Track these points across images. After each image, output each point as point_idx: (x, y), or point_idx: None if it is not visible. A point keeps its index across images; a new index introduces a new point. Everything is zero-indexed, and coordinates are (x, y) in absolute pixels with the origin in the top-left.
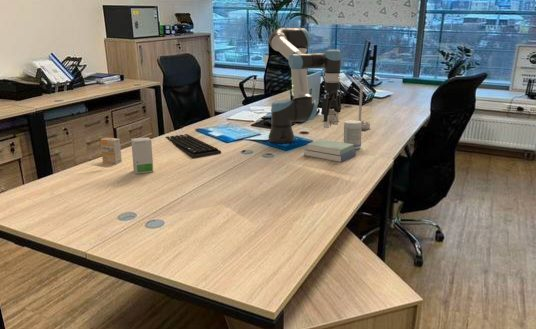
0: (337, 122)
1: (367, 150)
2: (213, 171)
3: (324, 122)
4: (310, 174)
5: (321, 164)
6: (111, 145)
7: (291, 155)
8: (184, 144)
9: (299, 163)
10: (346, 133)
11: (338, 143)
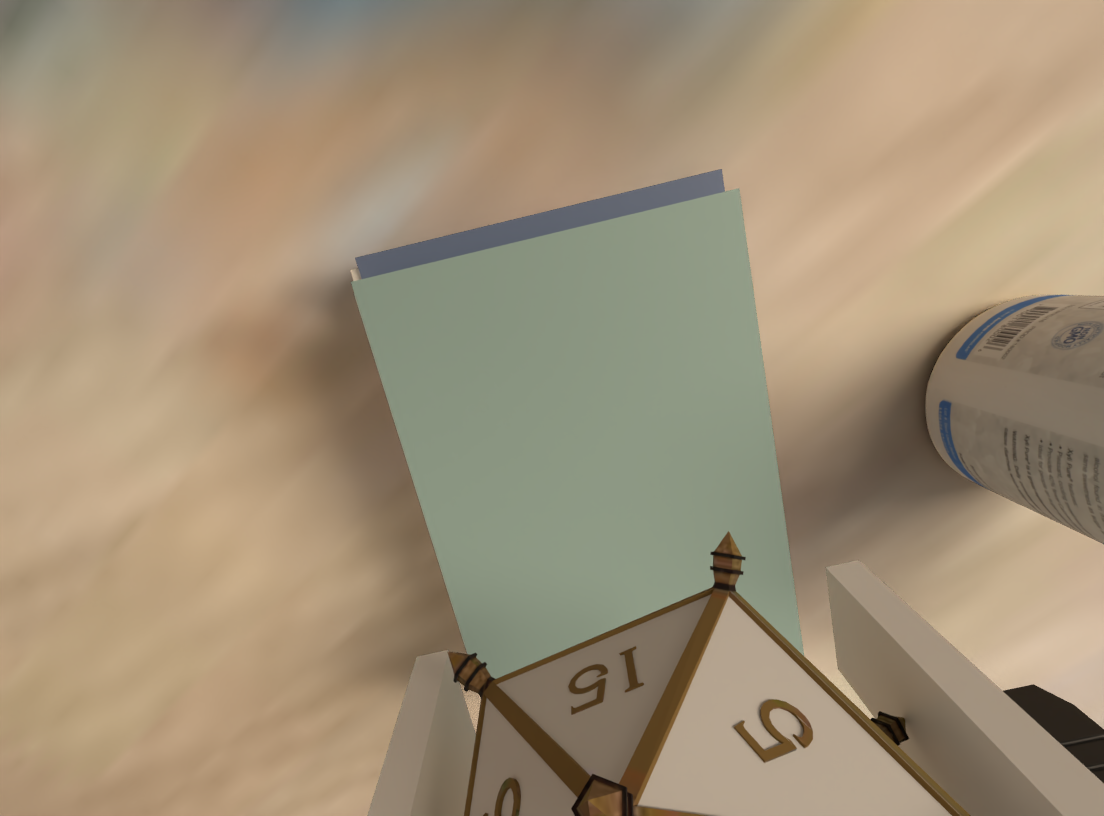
0: (874, 713)
1: (1006, 560)
2: None
3: (394, 775)
4: (40, 728)
5: (299, 602)
6: None
7: (244, 160)
8: None
9: (138, 454)
10: (1087, 432)
11: (707, 533)
